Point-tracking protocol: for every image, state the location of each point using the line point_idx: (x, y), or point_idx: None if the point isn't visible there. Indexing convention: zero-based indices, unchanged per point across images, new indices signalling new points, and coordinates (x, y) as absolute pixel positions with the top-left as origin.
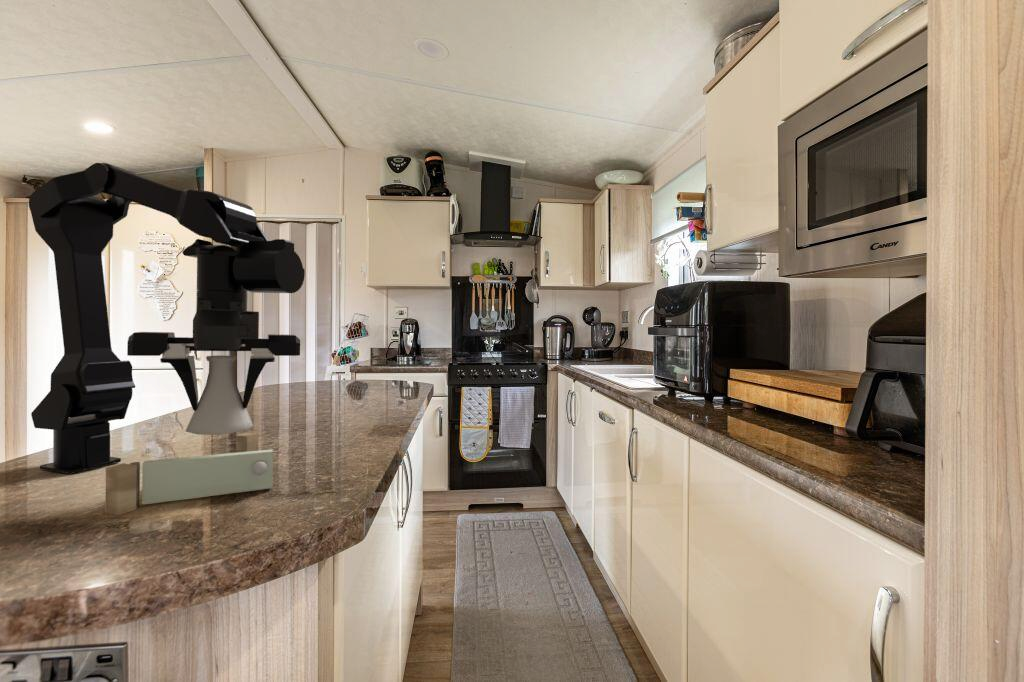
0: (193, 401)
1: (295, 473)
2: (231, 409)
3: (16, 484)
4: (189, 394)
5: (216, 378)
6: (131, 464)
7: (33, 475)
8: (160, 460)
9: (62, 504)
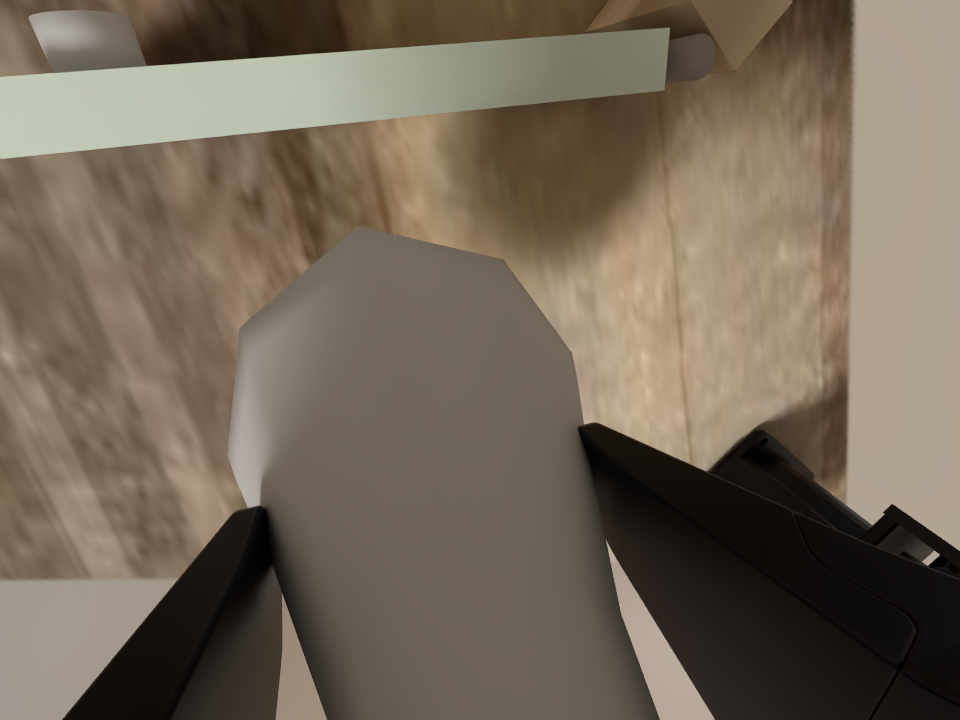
0: (629, 449)
1: (74, 335)
2: (322, 399)
3: (837, 376)
4: (694, 478)
5: (555, 685)
6: (708, 34)
7: (813, 435)
8: (604, 71)
9: (760, 180)
